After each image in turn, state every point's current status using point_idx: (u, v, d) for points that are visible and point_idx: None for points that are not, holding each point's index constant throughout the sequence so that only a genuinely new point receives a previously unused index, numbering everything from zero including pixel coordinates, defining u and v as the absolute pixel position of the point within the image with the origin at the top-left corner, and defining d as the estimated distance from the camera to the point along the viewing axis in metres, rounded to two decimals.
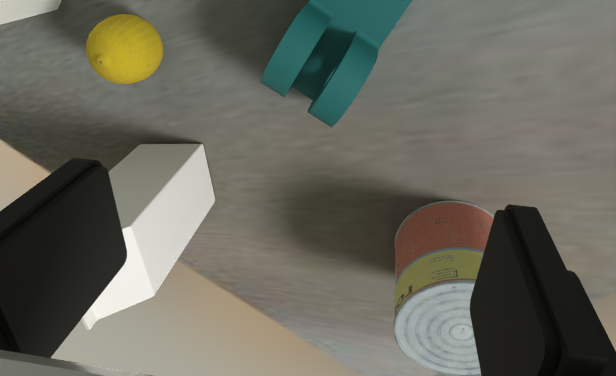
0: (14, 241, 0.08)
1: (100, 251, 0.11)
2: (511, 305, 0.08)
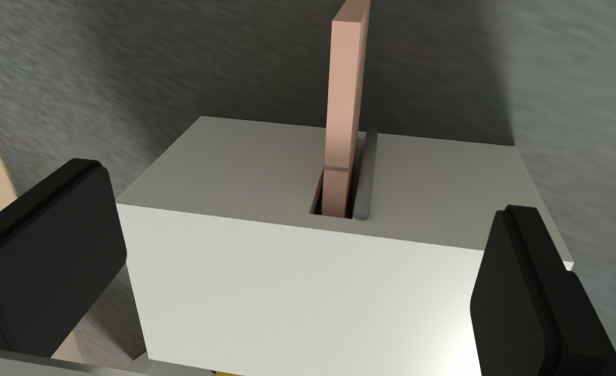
0: (14, 241, 0.08)
1: (100, 251, 0.11)
2: (511, 305, 0.08)
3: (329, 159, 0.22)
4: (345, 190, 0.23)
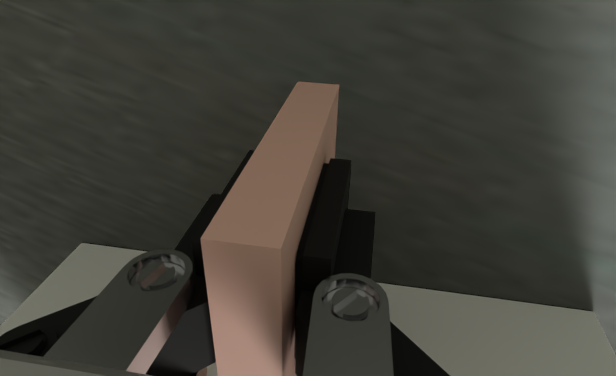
0: None
1: None
2: None
3: None
4: None
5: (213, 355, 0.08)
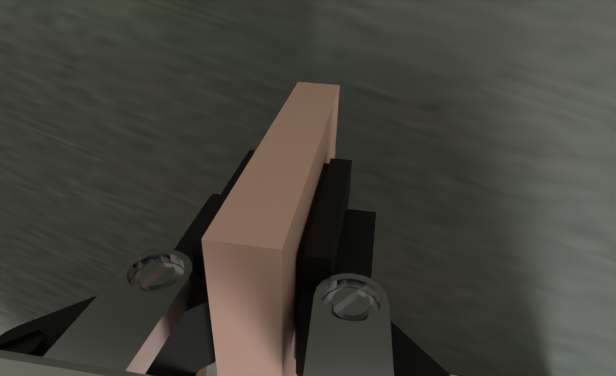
0: None
1: None
2: None
3: None
4: None
5: (213, 355, 0.08)
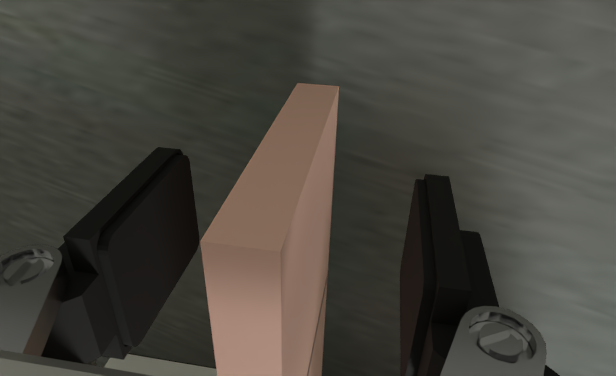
0: (125, 222, 0.09)
1: (181, 235, 0.11)
2: (414, 258, 0.09)
3: None
4: None
5: (94, 350, 0.09)
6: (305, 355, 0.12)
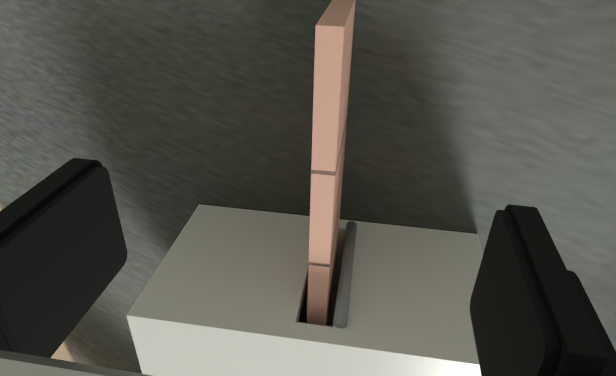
0: (14, 241, 0.08)
1: (100, 251, 0.11)
2: (511, 305, 0.08)
3: (316, 163, 0.22)
4: (333, 193, 0.23)
5: None
6: (341, 125, 0.24)
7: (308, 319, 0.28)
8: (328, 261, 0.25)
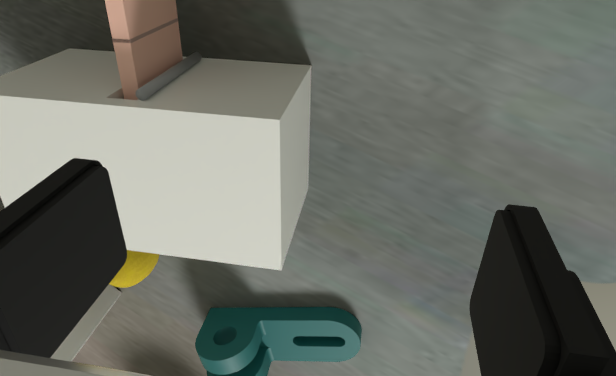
0: (14, 241, 0.08)
1: (100, 251, 0.11)
2: (511, 305, 0.08)
3: None
4: None
5: None
6: None
7: None
8: (127, 36, 0.29)
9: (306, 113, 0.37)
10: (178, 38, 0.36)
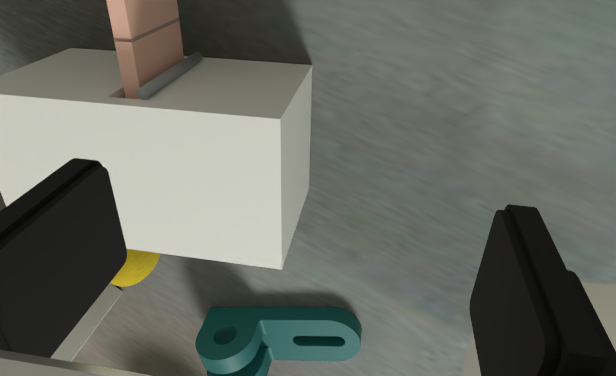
0: (14, 241, 0.08)
1: (100, 251, 0.11)
2: (511, 305, 0.08)
3: None
4: None
5: None
6: None
7: None
8: (129, 35, 0.29)
9: (307, 113, 0.37)
10: (179, 38, 0.36)
